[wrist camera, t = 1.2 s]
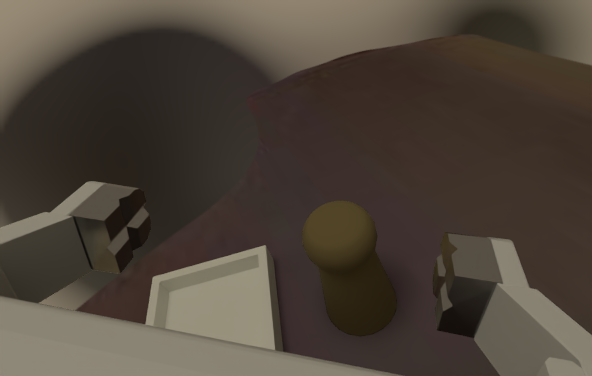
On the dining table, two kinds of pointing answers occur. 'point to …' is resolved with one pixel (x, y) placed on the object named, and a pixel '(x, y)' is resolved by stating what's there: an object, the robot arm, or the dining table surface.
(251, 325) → the tray
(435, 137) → the dining table surface
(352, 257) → the cork
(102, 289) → the dining table surface
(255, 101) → the dining table surface
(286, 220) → the dining table surface
